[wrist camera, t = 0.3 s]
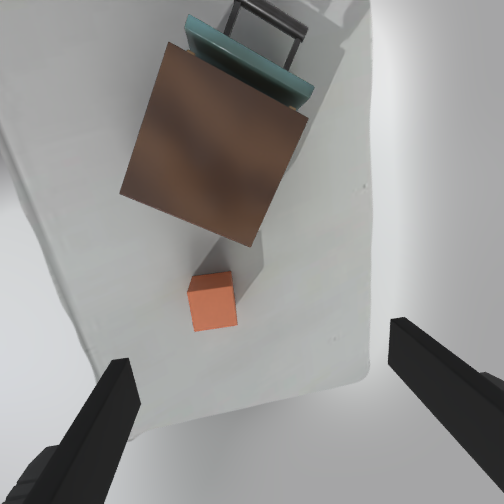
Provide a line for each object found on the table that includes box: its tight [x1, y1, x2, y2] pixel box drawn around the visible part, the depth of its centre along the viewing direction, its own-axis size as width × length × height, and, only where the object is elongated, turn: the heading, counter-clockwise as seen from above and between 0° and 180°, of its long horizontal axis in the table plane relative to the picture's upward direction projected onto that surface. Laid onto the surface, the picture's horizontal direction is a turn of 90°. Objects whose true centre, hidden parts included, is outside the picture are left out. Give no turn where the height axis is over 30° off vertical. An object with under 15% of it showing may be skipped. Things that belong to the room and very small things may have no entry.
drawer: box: [185, 0, 314, 111], centre depth 30 cm, size 19×14×8 cm
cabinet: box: [120, 42, 309, 247], centre depth 31 cm, size 15×15×10 cm
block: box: [187, 271, 237, 332], centre depth 38 cm, size 6×6×6 cm
